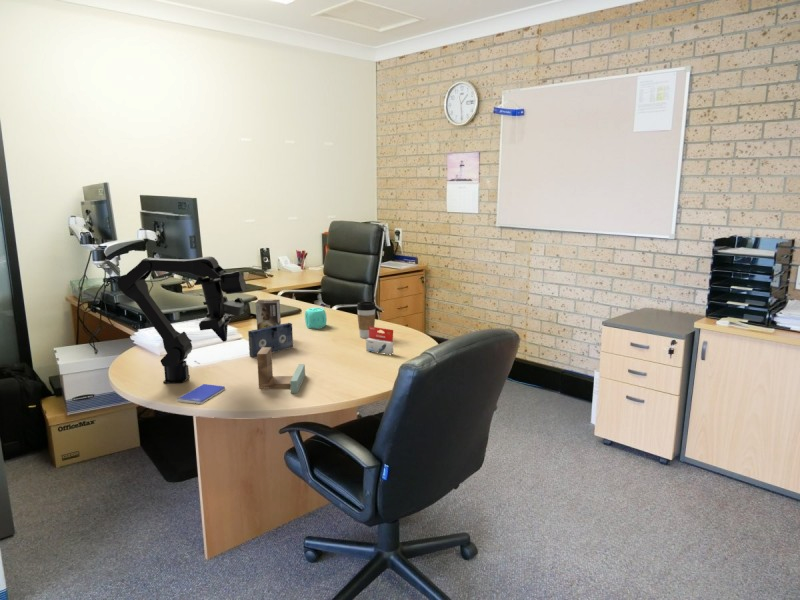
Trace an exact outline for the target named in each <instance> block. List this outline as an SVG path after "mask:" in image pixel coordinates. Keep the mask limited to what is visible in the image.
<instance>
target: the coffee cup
mask: <svg viewBox="0 0 800 600" xmlns="http://www.w3.org/2000/svg"><path fill="white" fill-rule="evenodd" d="M376 309H377V306H376V302H373V301H360V302H357V305H356V310H357V322H358V331H359V338H361V337H362V339H368V338H369V326H370V327H375V323H376V321H375V320H376Z"/></svg>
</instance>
